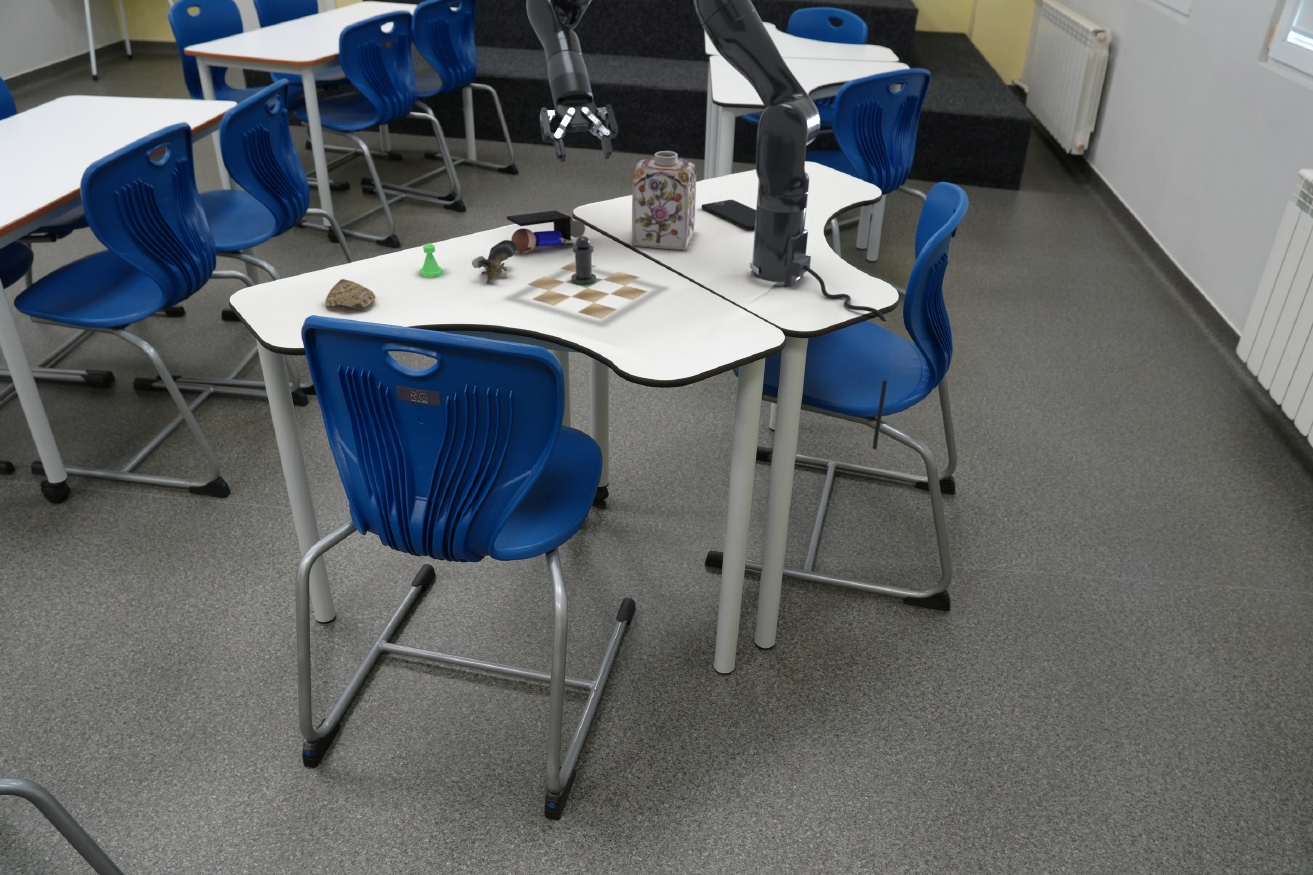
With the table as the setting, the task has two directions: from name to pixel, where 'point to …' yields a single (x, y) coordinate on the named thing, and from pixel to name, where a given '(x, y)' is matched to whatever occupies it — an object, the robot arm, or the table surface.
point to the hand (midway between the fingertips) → (585, 158)
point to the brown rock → (349, 295)
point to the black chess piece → (583, 262)
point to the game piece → (430, 263)
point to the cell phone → (733, 213)
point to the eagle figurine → (496, 259)
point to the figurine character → (562, 229)
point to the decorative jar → (663, 202)
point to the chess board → (588, 292)
